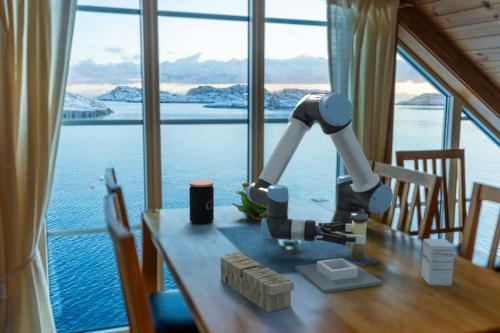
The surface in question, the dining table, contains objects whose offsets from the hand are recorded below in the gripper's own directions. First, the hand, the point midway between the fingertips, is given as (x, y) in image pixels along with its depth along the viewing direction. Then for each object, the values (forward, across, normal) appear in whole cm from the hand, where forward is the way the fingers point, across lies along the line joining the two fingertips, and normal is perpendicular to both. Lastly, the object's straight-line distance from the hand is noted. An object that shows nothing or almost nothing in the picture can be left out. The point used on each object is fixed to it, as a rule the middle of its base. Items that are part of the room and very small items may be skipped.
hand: (364, 233), depth 170 cm
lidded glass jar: (-2, 0, -9) cm, 9 cm away
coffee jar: (-69, -33, -9) cm, 77 cm away
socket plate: (-9, +19, -9) cm, 23 cm away
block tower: (-33, +36, -9) cm, 50 cm away
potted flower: (-44, -46, -9) cm, 64 cm away
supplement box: (+21, +16, -9) cm, 28 cm away
